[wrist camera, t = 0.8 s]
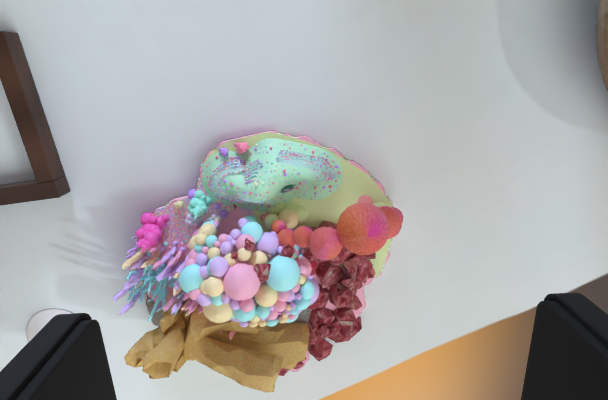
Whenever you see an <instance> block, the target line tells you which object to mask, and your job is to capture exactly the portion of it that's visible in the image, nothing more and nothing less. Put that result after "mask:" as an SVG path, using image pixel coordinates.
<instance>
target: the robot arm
mask: <svg viewBox="0 0 608 400" xmlns="http://www.w3.org/2000/svg"><path fill="white" fill-rule="evenodd" d="M0 400H117V399H116V394H115V390H114V386H113V381H112V377H111V373H110V368H109V364H108V360H107V355H106V351H105V347H104V343H103V338H102V334H101V330H100V326H99V323H98V322H97V321H96V320H92V319H91V317H90V316H89V314H86V313H76V314H59V315H56V316H54V317H53V318H52V319H51V320H50V321H49V322H48V323H47V324H46V325H45V326H44V327H43V328H42V329H41V330H40V331H39V332H38V333H37V334H36V335H35V336H34V337H33V339H32V340H31V341H30V342H29V343H28V344H27V345H26V346H25V347H24V348H23V349H22V350H21V351H20V352H19V353H18V354H17V355H16V356H15V357H14V358H13V359H12V360H11V361H10V362H9V363H8V364H7V366H6V367H5V368H4V369H3V370H2V371H1V372H0ZM521 400H608V315H607V314H606V313H605V312H603V311H602V310H601V309H600V308H599V307H597V306H596V305H595V304H594V303H592V302H591V301H590V300H589V299H587V298H586V297H585V296H583V295H582V294H580V293H558V294H549V295H547V296H546V297H545V299H544V301H541V302H540V303H539V304H538V306H537V310H536V316H535V322H534V328H533V333H532V339H531V345H530V351H529V356H528V362H527V368H526V374H525V380H524V386H523V392H522V397H521Z"/></svg>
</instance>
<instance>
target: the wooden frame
mask: <svg viewBox="0 0 608 400" xmlns="http://www.w3.org/2000/svg"><path fill="white" fill-rule="evenodd" d="M0 79H1V82H2V84H3V87H4V90H5V93H6V96H7V98H8V101H9V104H10V107H11V110H12V112H13V115H14V118H15V121H16V124H17V126H18V129H19V132H20V135H21V138H22V140H23V143H24V146H25V149H26V152H27V154H28V157H29V160H30V163H31V166H32V168H33V171H34V174H35V177H36V180H31V181H24V182H16V183H9V184H2V185H0V205H7V204H14V203H21V202H29V201H36V200H43V199H50V198H58V197H61V196H63V195H65V194H66V193H68V192H70V188H69V185H68V182H67V179H66V176H65V174H64V171H63V168H62V165H61V162H60V159H59V156H58V153H57V150H56V147H55V144H54V141H53V138H52V135H51V132H50V129H49V126H48V123H47V120H46V117H45V114H44V111H43V108H42V105H41V102H40V99H39V96H38V93H37V90H36V87H35V84H34V81H33V78H32V75H31V72H30V69H29V66H28V63H27V60H26V57H25V54H24V51H23V48H22V45H21V42H20V39H19V35H18V33H13V32H5V31H0Z"/></svg>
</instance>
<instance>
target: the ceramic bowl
mask: <svg viewBox="0 0 608 400" xmlns="http://www.w3.org/2000/svg"><path fill="white" fill-rule="evenodd" d="M596 37H597V53H598V61H599V66H600V70H601V73H602V77H603V81H604V84H605V86H606V89H607V91H608V0H600V2H599V7H598V15H597V26H596Z"/></svg>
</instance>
